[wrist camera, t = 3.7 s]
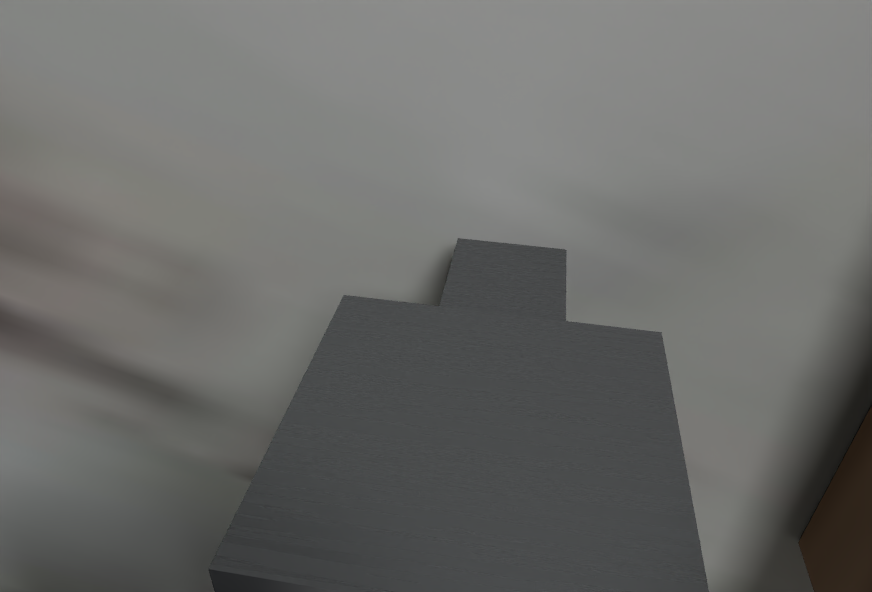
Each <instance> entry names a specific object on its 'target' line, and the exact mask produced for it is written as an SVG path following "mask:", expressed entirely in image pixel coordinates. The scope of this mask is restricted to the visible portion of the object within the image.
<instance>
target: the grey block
mask: <svg viewBox="0 0 872 592" xmlns="http://www.w3.org/2000/svg"><path fill="white" fill-rule="evenodd" d="M209 573H210V576H211V580H212V583H213V587H214V591H215V592H709V590H708V584H707V579H706V573H705V568H704V562H703V557H702V551H701V546H700V540H699V535H698V529H697V524H696V518H695V513H694V507H693V502H692V497H691V491H690V486H689V480H688V475H687V469H686V464H685V458H684V453H683V447H682V442H681V436H680V431H679V425H678V420H677V415H676V409H675V404H674V398H673V393H672V387H671V382H670V376H669V371H668V365H667V360H666V354H665V349H664V343H663V338H662V332H653V331H645V330H636V329H628V328H619V327H611V326H602V325H594V324H585V323H577V322H568V321H566V250H564V249H555V248H545V247H536V246H526V245H517V244H507V243H498V242H488V241H479V240H469V239H460V238H458V240H457V244H456V247H455V251H454V255H453V258H452V262H451V265H450V269H449V272H448V276H447V280H446V283H445V287H444V290H443V294H442V297H441V301H440V305H439V306H432V305H424V304H415V303H407V302H398V301H389V300H381V299H372V298H364V297H355V296H347V295H344V296H343V298H342V300H341V302H340V304H339V306H338V308H337V310H336V312H335V314H334V316H333V318H332V320H331V322H330V324H329V326H328V328H327V330H326V332H325V334H324V336H323V338H322V340H321V342H320V344H319V346H318V348H317V350H316V352H315V354H314V356H313V359H312V361H311V363H310V365H309V367H308V369H307V371H306V373H305V375H304V377H303V379H302V381H301V383H300V385H299V387H298V389H297V391H296V393H295V395H294V397H293V399H292V401H291V403H290V405H289V407H288V409H287V411H286V413H285V415H284V417H283V419H282V421H281V423H280V425H279V427H278V429H277V431H276V433H275V435H274V437H273V440H272V442H271V444H270V446H269V448H268V450H267V452H266V454H265V456H264V458H263V460H262V462H261V464H260V466H259V468H258V470H257V472H256V474H255V476H254V478H253V480H252V482H251V484H250V486H249V488H248V490H247V492H246V494H245V496H244V498H243V500H242V502H241V504H240V506H239V508H238V510H237V512H236V514H235V516H234V518H233V521H232V523H231V525H230V527H229V529H228V531H227V533H226V535H225V537H224V539H223V541H222V543H221V545H220V547H219V549H218V551H217V553H216V555H215V557H214V559H213V561H212V563H211V565H210V567H209Z"/></svg>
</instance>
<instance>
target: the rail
mask: <svg viewBox="0 0 872 592" xmlns="http://www.w3.org/2000/svg"><path fill="white" fill-rule="evenodd" d="M798 543H799V546H800V549H801V552H802V555H803V559H804V562H805V565H806V568H807V571H808V574H809V577H810V580H811V583H812V586H813V589H814V592H872V406H871V408H870V410H869V412H868V414H867V415H866V417H865V419H864V421H863V423H862V425H861V427H860V428H859V430H858V432H857V434H856V436H855V438H854V440H853V442H852V443H851V445H850V447H849V449H848V451H847V453H846V455H845V456H844V458H843V460H842V462H841V464H840V466H839V468H838V470H837V471H836V473H835V475H834V477H833V479H832V481H831V483H830V485H829V486H828V488H827V490H826V492H825V494H824V496H823V498H822V499H821V501H820V503H819V505H818V507H817V509H816V511H815V513H814V514H813V516H812V518H811V520H810V522H809V524H808V526H807V527H806V529H805V531H804V533H803V535H802V537H801V539H800V541H799V542H798Z"/></svg>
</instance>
